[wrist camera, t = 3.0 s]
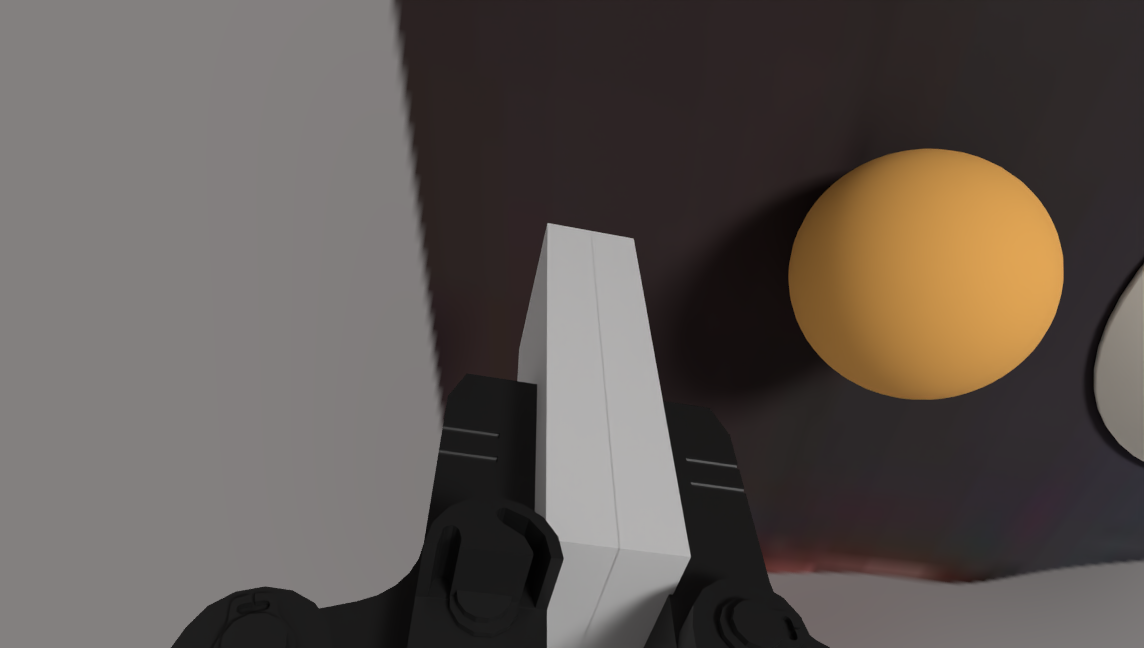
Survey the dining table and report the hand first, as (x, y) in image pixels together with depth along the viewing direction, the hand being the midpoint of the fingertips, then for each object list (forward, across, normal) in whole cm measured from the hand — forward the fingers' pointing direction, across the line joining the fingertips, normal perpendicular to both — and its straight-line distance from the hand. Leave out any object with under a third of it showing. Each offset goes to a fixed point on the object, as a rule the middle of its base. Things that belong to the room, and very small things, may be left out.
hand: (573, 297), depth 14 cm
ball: (+3, +8, 0) cm, 8 cm away
